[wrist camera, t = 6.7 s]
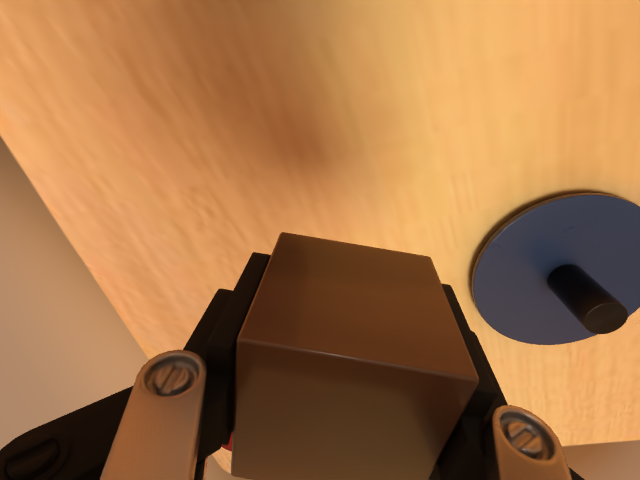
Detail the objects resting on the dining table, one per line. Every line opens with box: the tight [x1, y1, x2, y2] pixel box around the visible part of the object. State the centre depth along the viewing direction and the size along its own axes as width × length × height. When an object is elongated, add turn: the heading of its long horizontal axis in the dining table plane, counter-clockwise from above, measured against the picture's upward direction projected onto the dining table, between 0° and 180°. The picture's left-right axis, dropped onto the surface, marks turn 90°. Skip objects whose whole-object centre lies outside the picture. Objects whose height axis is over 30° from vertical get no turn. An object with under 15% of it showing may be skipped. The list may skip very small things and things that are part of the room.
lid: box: [471, 193, 640, 345], centre depth 27 cm, size 15×15×6 cm
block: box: [231, 232, 479, 480], centre depth 9 cm, size 4×4×4 cm
